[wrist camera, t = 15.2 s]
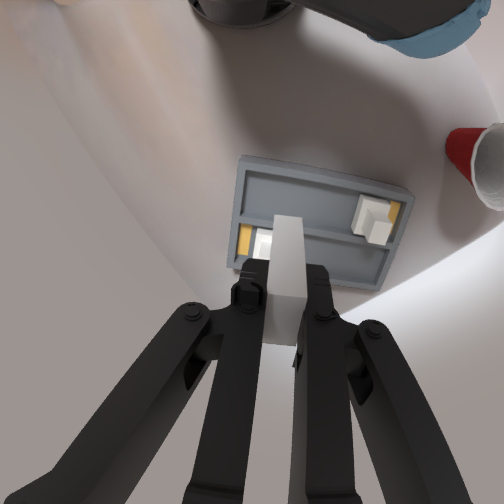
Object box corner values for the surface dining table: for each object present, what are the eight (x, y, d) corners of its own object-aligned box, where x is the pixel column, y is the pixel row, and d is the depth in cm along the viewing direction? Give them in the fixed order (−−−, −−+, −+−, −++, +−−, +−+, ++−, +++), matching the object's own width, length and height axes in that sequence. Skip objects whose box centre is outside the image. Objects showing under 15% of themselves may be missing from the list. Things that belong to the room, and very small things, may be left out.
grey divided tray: (242, 154, 40) (238, 160, 37) (406, 188, 40) (415, 197, 37) (230, 255, 48) (226, 267, 45) (374, 278, 48) (379, 291, 45)
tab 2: (360, 193, 39) (371, 211, 34) (386, 200, 39) (400, 218, 34) (350, 226, 41) (359, 248, 36) (376, 231, 41) (387, 253, 36)
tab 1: (257, 226, 43) (253, 248, 38) (286, 231, 43) (285, 253, 38) (252, 257, 45) (248, 281, 40) (279, 261, 45) (278, 285, 40)
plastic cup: (477, 102, 31) (527, 115, 21) (491, 167, 36) (536, 196, 25) (421, 120, 34) (465, 136, 24) (439, 188, 39) (479, 223, 29)
